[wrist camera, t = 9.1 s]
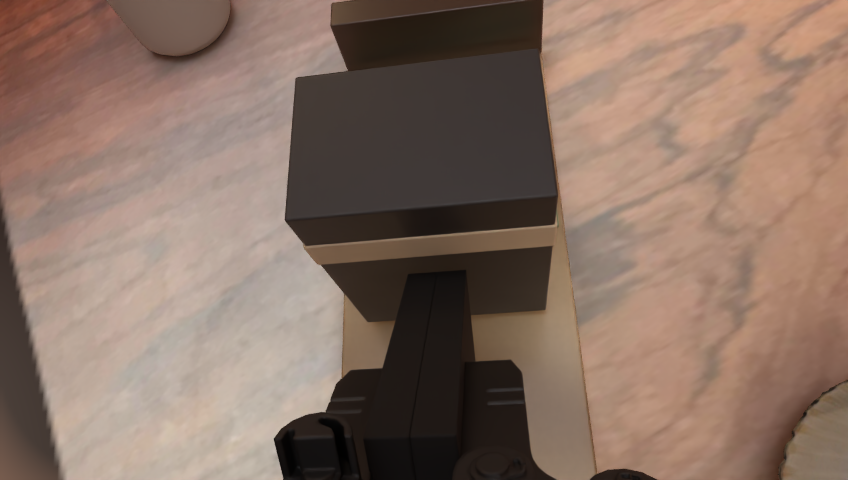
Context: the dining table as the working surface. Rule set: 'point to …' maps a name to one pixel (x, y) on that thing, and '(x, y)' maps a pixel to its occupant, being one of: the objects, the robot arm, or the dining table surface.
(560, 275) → the rail
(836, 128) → the dining table surface
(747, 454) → the dining table surface
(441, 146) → the dark grey lidded box
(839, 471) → the seashell
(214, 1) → the beverage can
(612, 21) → the dining table surface
